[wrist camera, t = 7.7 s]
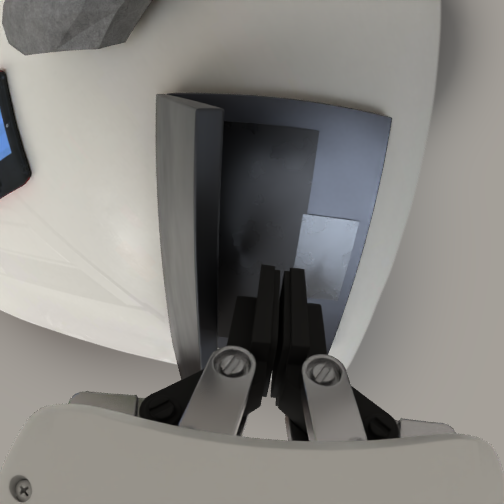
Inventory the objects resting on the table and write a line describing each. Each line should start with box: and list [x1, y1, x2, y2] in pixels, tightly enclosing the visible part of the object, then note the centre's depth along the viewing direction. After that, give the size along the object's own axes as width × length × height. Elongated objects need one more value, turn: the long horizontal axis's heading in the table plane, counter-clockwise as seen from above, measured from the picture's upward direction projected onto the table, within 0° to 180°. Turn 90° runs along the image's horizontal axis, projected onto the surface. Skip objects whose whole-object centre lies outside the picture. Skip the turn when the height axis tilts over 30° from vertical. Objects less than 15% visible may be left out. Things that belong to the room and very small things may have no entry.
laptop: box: [167, 93, 392, 355], centre depth 27 cm, size 17×26×2 cm, turn 176°
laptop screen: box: [156, 94, 224, 380], centre depth 20 cm, size 17×26×1 cm
